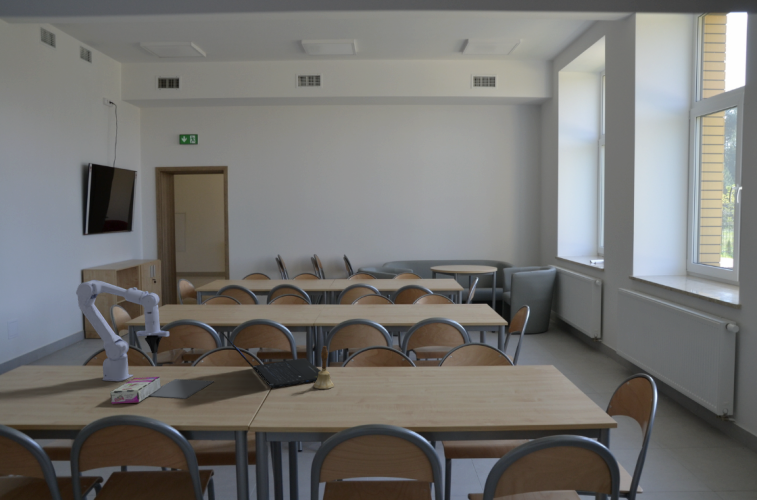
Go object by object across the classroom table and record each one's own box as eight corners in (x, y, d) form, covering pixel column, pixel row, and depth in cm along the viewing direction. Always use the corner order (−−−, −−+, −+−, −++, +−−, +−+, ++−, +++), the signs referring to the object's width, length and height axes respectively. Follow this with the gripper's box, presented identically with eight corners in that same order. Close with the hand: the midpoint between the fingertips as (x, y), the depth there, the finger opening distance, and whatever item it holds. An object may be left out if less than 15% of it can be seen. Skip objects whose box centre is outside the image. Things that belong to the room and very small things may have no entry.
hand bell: (338, 385, 213) (339, 345, 212) (324, 390, 207) (324, 349, 206) (323, 381, 218) (323, 342, 217) (308, 386, 212) (309, 346, 211)
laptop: (329, 380, 220) (327, 334, 219) (236, 396, 204) (233, 346, 203) (305, 361, 250) (303, 320, 249) (222, 373, 235) (219, 329, 233)
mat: (144, 396, 207) (144, 395, 207) (175, 379, 226) (175, 378, 226) (185, 398, 203) (185, 397, 203) (214, 381, 222) (214, 380, 222)
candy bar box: (135, 390, 216) (110, 404, 199) (134, 377, 215) (109, 391, 199) (161, 388, 214) (139, 402, 198) (160, 376, 214) (137, 389, 198)
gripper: (131, 323, 228) (133, 354, 229) (161, 323, 225) (163, 355, 226) (142, 319, 235) (144, 350, 236) (171, 320, 232) (173, 351, 233)
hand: (154, 352), depth 231 cm, fingers closed
